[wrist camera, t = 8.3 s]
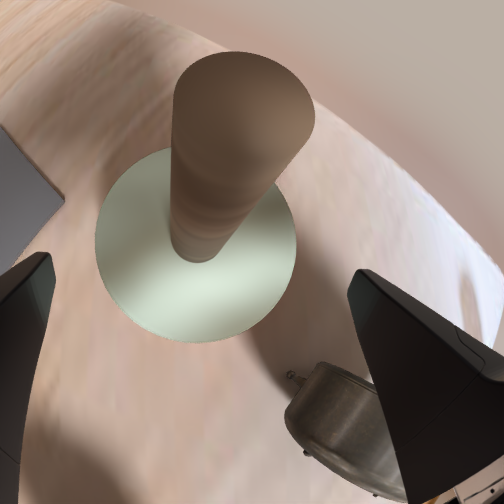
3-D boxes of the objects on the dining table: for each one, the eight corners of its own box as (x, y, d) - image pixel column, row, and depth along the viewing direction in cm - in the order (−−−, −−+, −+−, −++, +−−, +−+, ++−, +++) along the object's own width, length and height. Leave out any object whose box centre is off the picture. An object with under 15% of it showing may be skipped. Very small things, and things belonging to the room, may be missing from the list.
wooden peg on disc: (322, 276, 19) (501, 223, 7) (161, 377, 16) (145, 513, 4) (230, 127, 19) (298, -39, 7) (70, 204, 16) (-36, 59, 4)
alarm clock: (385, 410, 23) (551, 457, 7) (350, 463, 21) (497, 547, 6) (289, 346, 22) (487, 385, 6) (245, 408, 20) (383, 551, 5)
